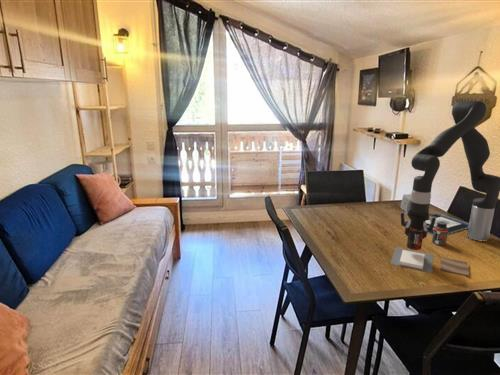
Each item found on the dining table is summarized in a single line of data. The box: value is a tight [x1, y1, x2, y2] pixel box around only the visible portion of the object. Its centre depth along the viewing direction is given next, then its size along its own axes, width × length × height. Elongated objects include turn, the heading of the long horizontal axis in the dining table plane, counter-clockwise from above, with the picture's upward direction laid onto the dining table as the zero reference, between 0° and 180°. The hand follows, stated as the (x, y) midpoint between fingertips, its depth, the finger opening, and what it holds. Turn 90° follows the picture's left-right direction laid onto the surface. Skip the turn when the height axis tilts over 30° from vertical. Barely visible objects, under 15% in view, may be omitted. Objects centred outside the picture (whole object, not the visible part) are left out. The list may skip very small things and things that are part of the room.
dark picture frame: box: [405, 212, 469, 236], centre depth 185 cm, size 22×30×2 cm
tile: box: [399, 250, 425, 269], centre depth 145 cm, size 2×9×12 cm
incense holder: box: [400, 193, 411, 212], centre depth 206 cm, size 10×8×10 cm
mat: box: [390, 247, 434, 274], centre depth 147 cm, size 18×16×1 cm
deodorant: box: [406, 215, 425, 251], centre depth 145 cm, size 6×6×15 cm
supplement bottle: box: [431, 221, 449, 247], centre depth 161 cm, size 6×6×11 cm
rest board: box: [440, 256, 470, 278], centre depth 140 cm, size 12×10×1 cm
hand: (415, 236), depth 146 cm, fingers closed on deodorant, 6 cm apart
